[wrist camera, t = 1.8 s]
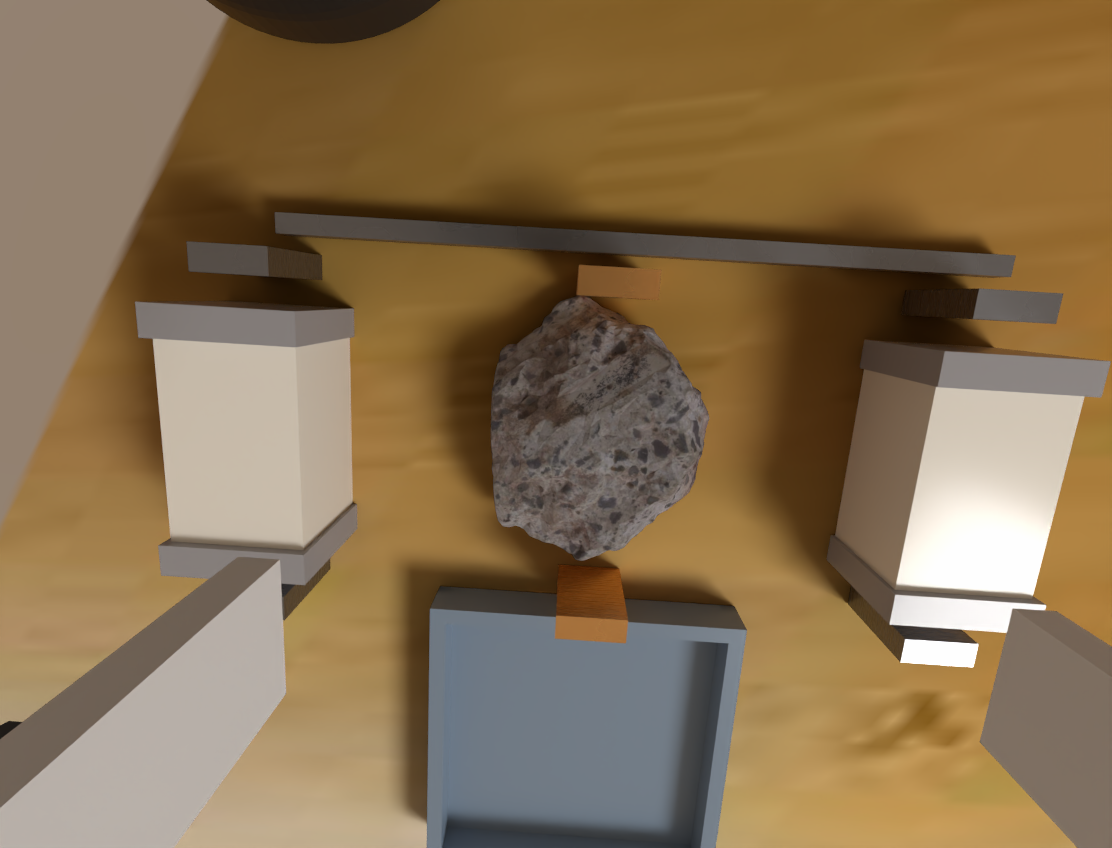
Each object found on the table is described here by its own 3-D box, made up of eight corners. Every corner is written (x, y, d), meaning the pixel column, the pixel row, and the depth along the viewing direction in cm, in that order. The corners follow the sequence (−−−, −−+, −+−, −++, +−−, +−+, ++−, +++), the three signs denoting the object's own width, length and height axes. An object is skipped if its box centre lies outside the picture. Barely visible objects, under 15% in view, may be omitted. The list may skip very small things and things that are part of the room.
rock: (505, 536, 27) (494, 577, 23) (495, 297, 25) (480, 297, 21) (698, 533, 27) (720, 575, 23) (705, 292, 24) (732, 291, 20)
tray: (440, 586, 27) (429, 608, 25) (734, 605, 27) (746, 630, 25) (435, 828, 30) (426, 864, 28) (700, 847, 30) (709, 886, 28)
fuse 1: (228, 300, 25) (134, 301, 19) (353, 308, 25) (294, 311, 19) (241, 520, 27) (161, 575, 22) (357, 528, 27) (304, 584, 21)
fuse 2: (864, 339, 24) (945, 351, 19) (993, 347, 24) (1110, 361, 19) (826, 559, 26) (889, 624, 21) (945, 567, 26) (1038, 634, 21)
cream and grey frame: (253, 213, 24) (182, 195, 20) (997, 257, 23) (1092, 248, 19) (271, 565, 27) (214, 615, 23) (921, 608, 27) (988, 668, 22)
